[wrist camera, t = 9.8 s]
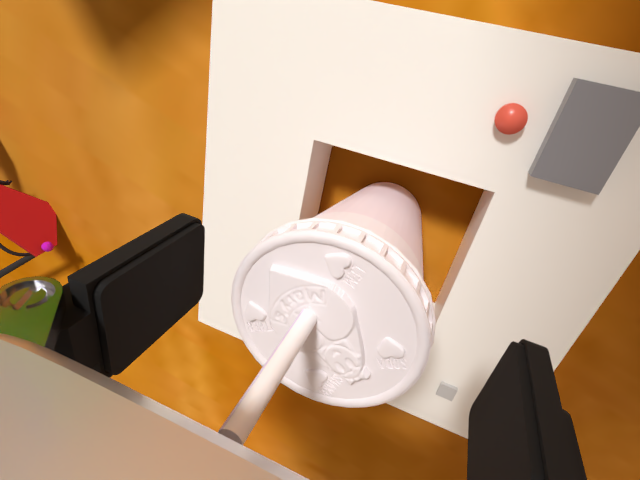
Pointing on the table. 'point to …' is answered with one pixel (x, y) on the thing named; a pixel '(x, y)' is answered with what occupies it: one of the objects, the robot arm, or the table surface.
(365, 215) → the smoothie
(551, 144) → the socket plate
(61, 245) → the table surface
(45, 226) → the glasses
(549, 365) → the robot arm
